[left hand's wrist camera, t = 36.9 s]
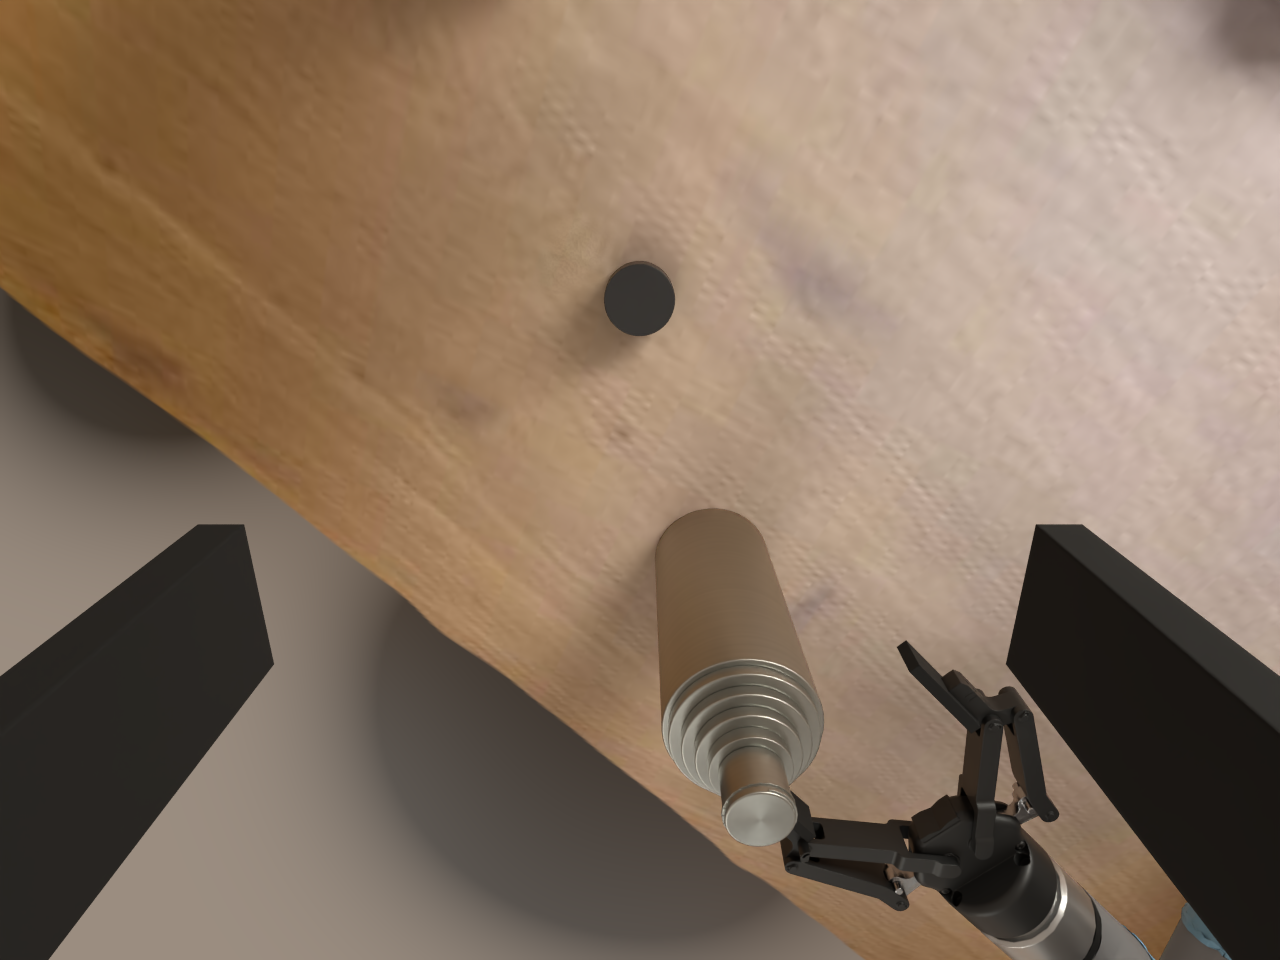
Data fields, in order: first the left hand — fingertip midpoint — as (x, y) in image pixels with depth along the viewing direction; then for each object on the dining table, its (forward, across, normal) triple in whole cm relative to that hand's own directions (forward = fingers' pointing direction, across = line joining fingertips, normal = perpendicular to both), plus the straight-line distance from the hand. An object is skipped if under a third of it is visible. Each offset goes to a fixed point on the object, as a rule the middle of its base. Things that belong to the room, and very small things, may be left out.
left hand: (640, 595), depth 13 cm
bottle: (+37, +5, -19) cm, 42 cm away
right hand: (+29, +12, -26) cm, 41 cm away
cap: (+35, 0, 0) cm, 35 cm away
